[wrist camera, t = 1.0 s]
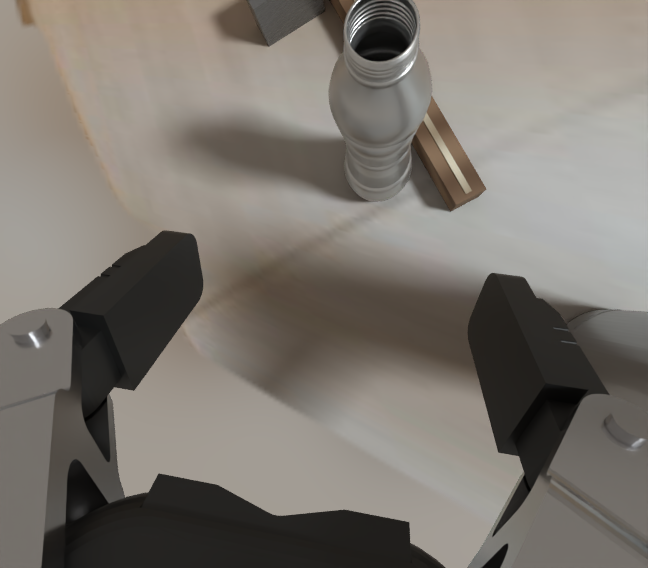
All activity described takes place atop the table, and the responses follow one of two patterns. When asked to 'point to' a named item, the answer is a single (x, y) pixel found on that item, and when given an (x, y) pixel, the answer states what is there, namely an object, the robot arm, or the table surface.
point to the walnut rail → (439, 149)
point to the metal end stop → (283, 16)
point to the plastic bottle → (380, 94)
